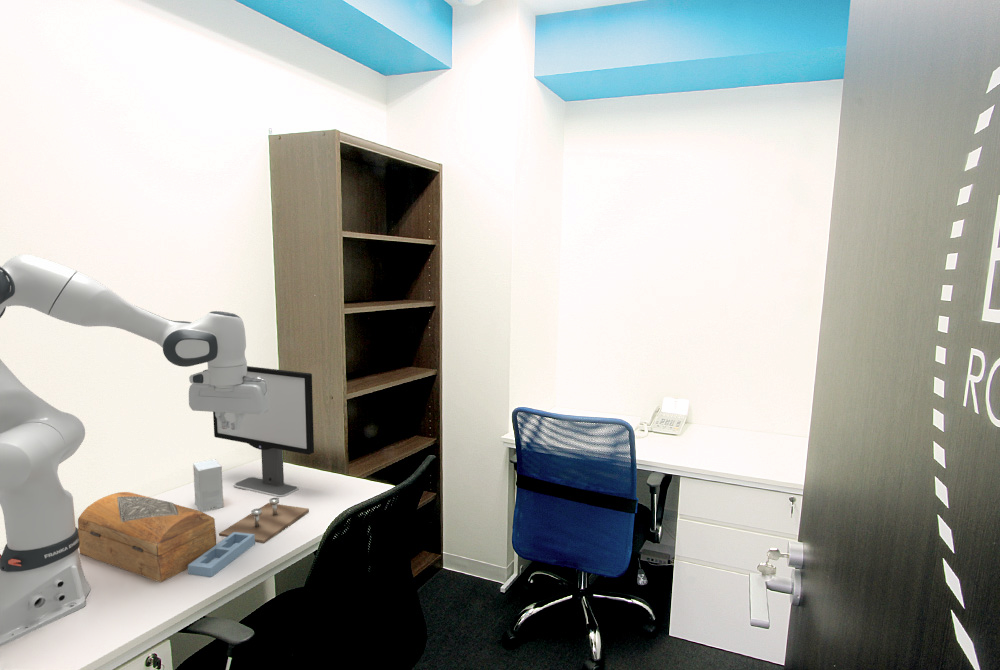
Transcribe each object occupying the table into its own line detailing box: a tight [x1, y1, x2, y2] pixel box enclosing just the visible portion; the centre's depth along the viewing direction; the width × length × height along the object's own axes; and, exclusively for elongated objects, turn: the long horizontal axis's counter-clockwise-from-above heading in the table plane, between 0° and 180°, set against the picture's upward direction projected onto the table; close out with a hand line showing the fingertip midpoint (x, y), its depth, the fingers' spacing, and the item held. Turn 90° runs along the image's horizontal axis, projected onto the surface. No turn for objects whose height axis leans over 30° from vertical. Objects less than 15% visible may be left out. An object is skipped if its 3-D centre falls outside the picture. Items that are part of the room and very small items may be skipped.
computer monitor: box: [212, 365, 315, 498], centre depth 178 cm, size 41×8×40 cm, turn 67°
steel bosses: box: [250, 497, 280, 527], centre depth 154 cm, size 10×3×5 cm, turn 165°
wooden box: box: [77, 491, 218, 583], centre depth 136 cm, size 30×16×14 cm, turn 66°
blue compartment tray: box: [187, 532, 256, 578], centre depth 135 cm, size 6×16×3 cm, turn 170°
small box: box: [192, 458, 224, 513], centre depth 165 cm, size 8×6×13 cm
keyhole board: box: [218, 502, 310, 544], centre depth 155 cm, size 20×14×1 cm
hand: (230, 428), depth 139 cm, fingers closed
